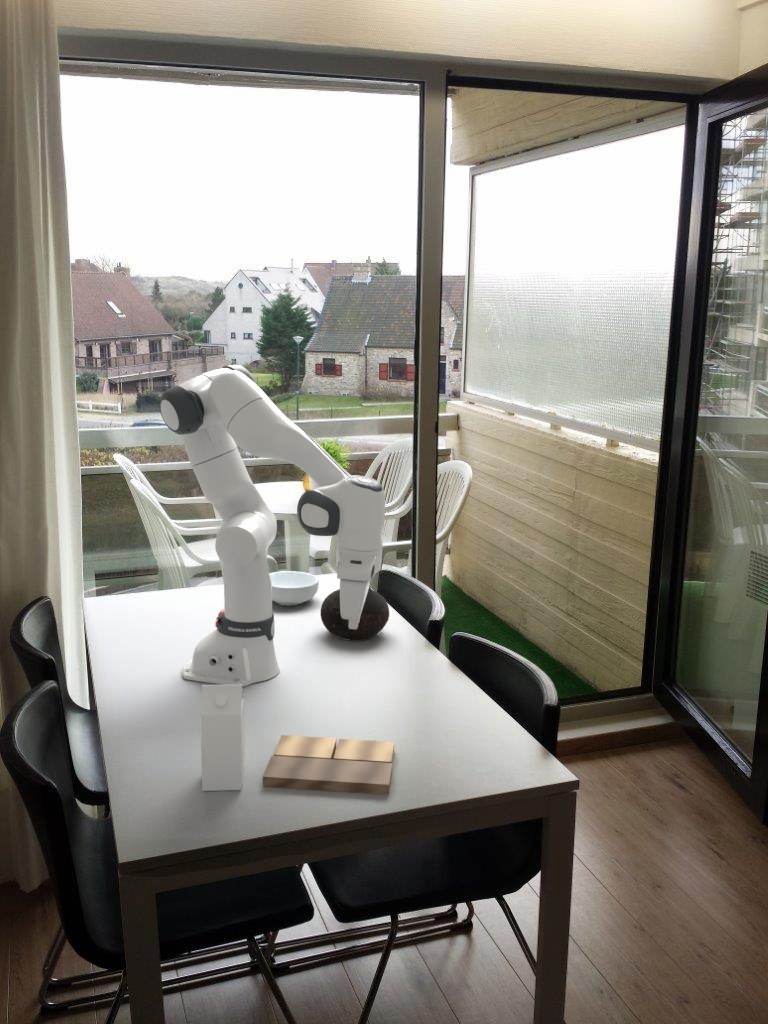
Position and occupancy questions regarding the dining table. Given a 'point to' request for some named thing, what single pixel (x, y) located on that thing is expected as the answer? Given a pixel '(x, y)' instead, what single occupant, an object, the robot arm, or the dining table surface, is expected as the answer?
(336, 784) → the base board
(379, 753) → the plank
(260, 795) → the dining table surface
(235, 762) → the milk carton
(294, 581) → the cereal bowl
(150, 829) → the dining table surface
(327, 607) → the dark brown round bottle
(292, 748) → the plank
